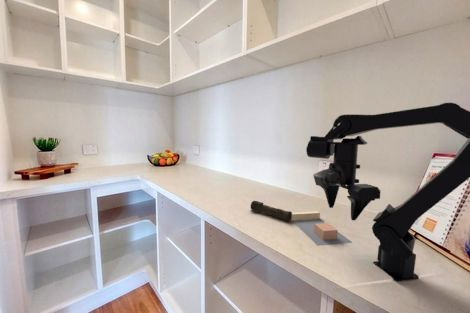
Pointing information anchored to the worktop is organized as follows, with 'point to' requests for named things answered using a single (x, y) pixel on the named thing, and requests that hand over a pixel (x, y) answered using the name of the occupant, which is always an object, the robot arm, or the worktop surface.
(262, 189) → the worktop surface
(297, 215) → the slate mat
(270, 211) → the hand tool
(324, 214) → the worktop surface
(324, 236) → the salmon brown block
